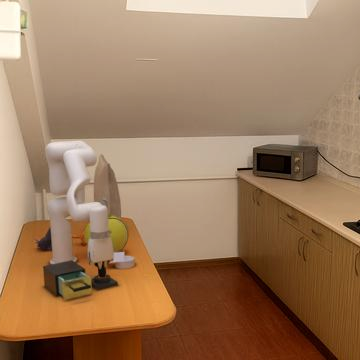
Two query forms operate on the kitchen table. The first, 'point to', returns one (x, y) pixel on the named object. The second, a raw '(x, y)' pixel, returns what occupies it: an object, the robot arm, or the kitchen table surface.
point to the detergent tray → (74, 285)
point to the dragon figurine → (47, 242)
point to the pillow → (107, 187)
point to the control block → (103, 282)
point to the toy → (117, 228)
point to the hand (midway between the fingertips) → (102, 276)
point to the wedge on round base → (123, 260)
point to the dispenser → (59, 274)
